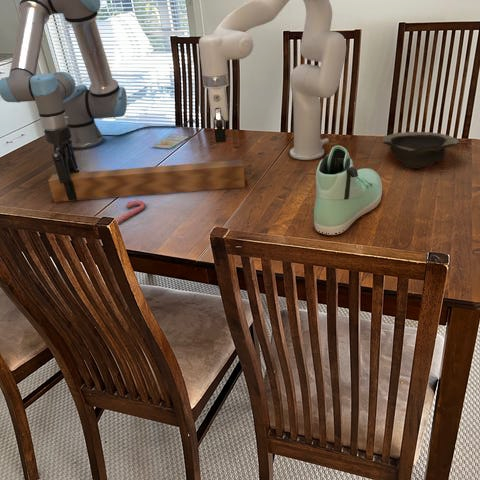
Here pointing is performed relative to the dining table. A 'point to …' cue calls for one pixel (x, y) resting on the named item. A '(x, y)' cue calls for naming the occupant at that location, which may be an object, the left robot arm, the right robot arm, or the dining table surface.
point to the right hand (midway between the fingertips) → (221, 136)
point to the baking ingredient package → (170, 141)
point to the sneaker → (343, 192)
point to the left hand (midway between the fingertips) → (75, 195)
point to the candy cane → (132, 210)
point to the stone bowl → (419, 147)
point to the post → (151, 180)
